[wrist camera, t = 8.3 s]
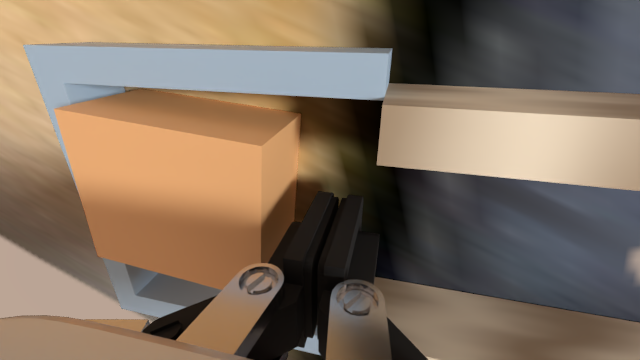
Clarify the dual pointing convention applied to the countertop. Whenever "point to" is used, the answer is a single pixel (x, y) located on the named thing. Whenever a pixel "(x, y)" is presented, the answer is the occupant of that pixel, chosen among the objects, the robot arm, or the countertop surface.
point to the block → (183, 180)
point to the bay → (203, 75)
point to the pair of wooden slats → (518, 163)
